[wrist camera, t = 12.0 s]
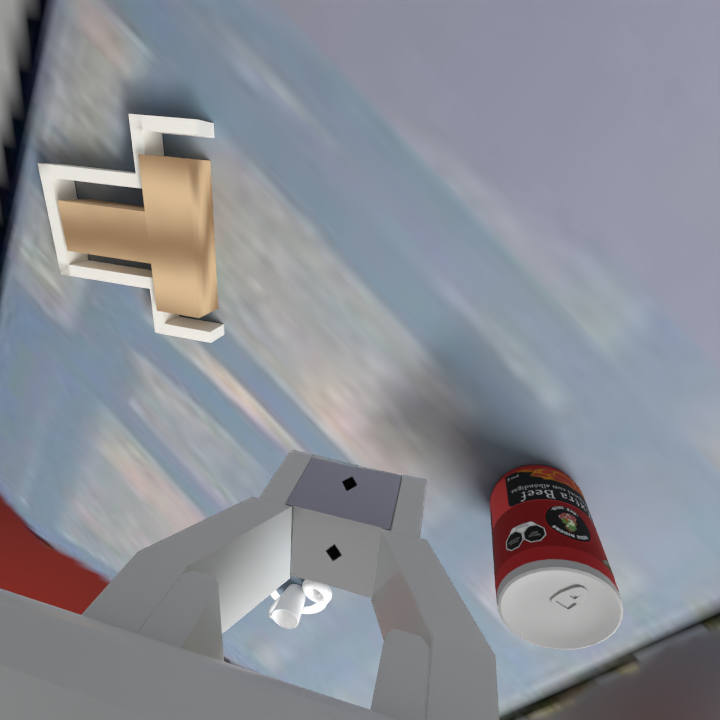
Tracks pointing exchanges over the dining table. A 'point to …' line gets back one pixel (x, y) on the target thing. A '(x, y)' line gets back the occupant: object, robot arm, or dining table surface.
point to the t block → (157, 232)
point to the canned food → (550, 562)
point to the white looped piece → (298, 602)
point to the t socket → (145, 142)
